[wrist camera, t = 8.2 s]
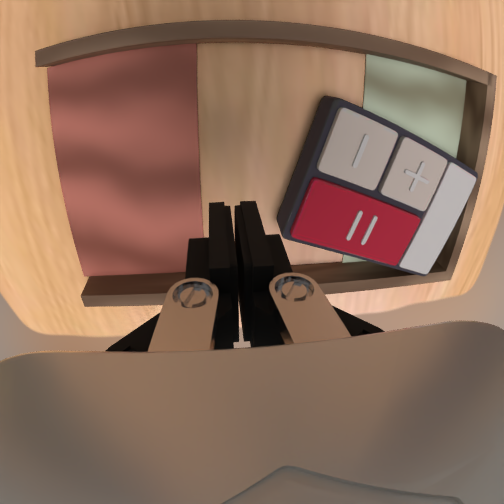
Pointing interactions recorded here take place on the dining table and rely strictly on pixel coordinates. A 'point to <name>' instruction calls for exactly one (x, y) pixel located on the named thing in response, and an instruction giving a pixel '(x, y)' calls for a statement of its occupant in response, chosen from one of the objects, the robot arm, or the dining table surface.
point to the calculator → (373, 190)
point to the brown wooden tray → (187, 149)
